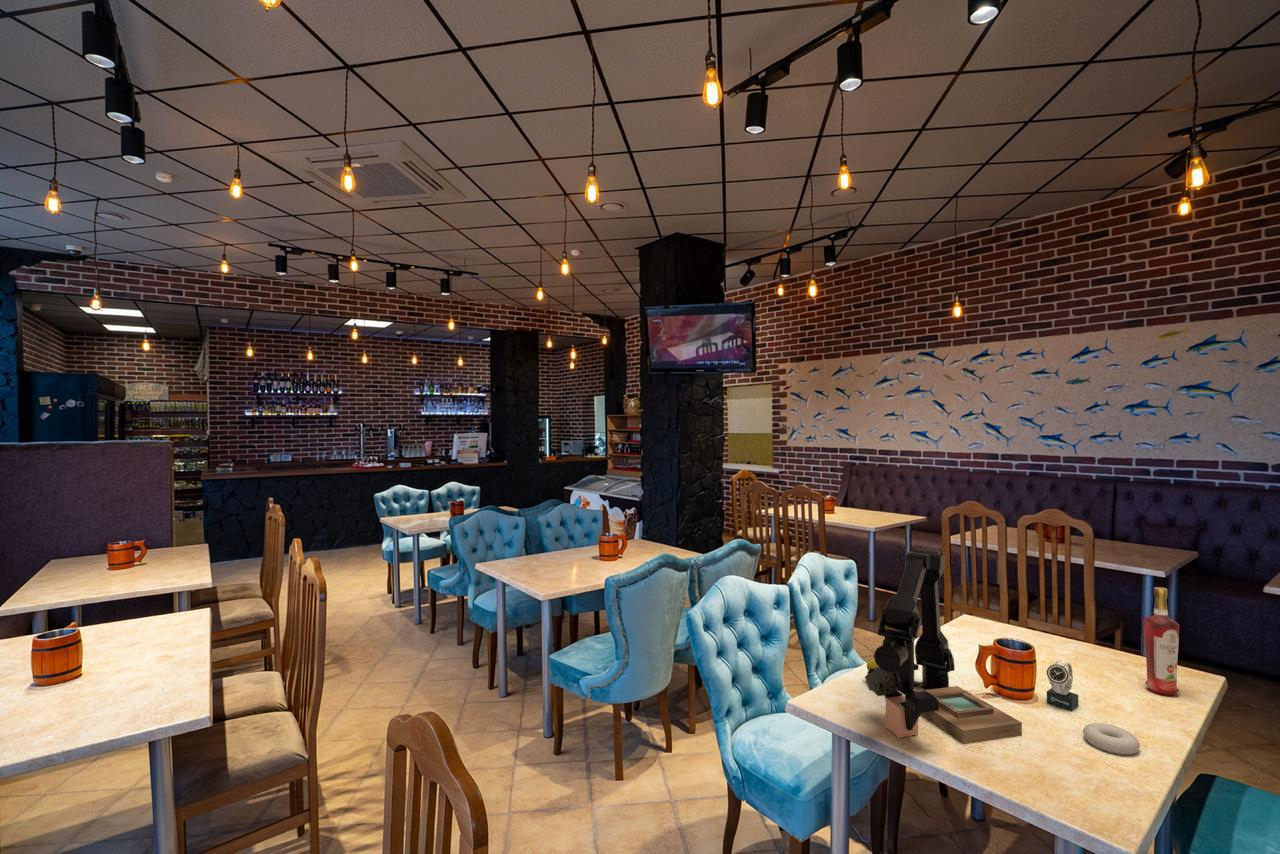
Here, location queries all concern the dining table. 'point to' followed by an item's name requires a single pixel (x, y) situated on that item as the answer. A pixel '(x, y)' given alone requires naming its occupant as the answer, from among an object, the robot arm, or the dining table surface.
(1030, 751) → the dining table surface
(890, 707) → the terracotta block
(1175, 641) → the liquor
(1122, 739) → the donut
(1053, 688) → the watch
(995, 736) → the brown flat frame
